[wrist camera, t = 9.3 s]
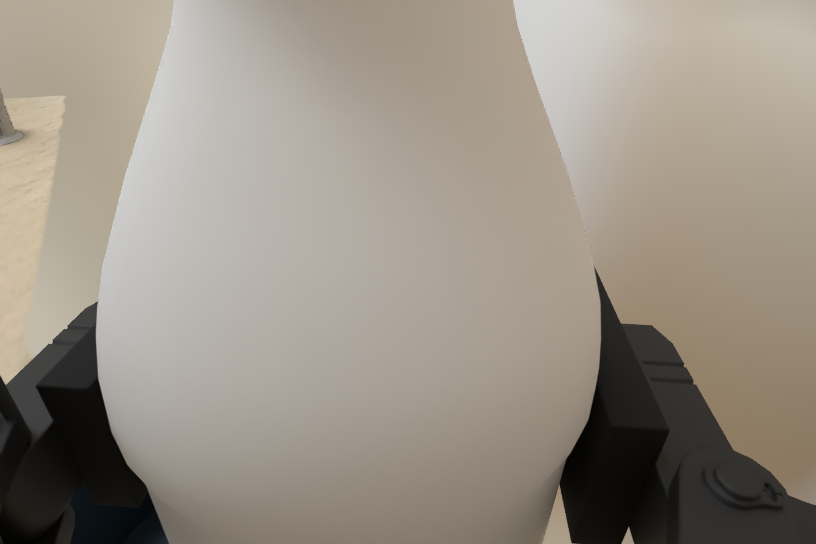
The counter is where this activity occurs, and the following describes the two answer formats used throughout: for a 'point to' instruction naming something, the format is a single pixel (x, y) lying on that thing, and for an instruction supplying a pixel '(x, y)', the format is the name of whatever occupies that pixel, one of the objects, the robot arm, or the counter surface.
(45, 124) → the counter surface
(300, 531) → the water bottle
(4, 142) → the french press
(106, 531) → the tub
